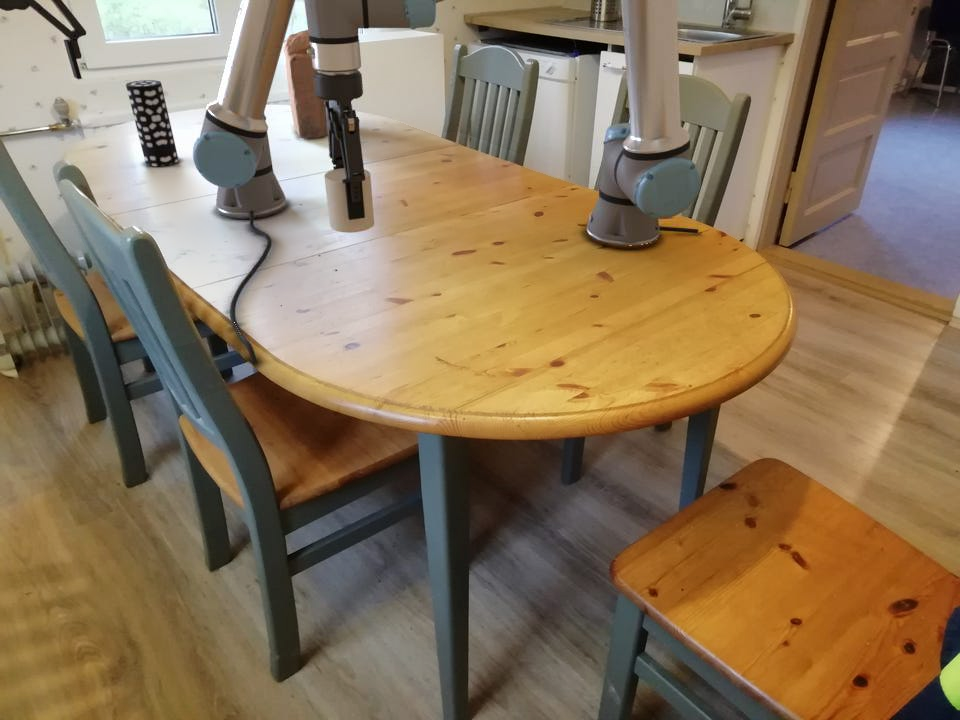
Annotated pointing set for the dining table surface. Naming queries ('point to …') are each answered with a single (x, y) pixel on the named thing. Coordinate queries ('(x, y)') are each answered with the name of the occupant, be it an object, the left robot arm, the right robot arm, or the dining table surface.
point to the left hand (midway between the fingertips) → (38, 82)
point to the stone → (303, 88)
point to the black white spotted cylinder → (152, 122)
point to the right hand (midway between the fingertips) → (350, 209)
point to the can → (339, 203)
